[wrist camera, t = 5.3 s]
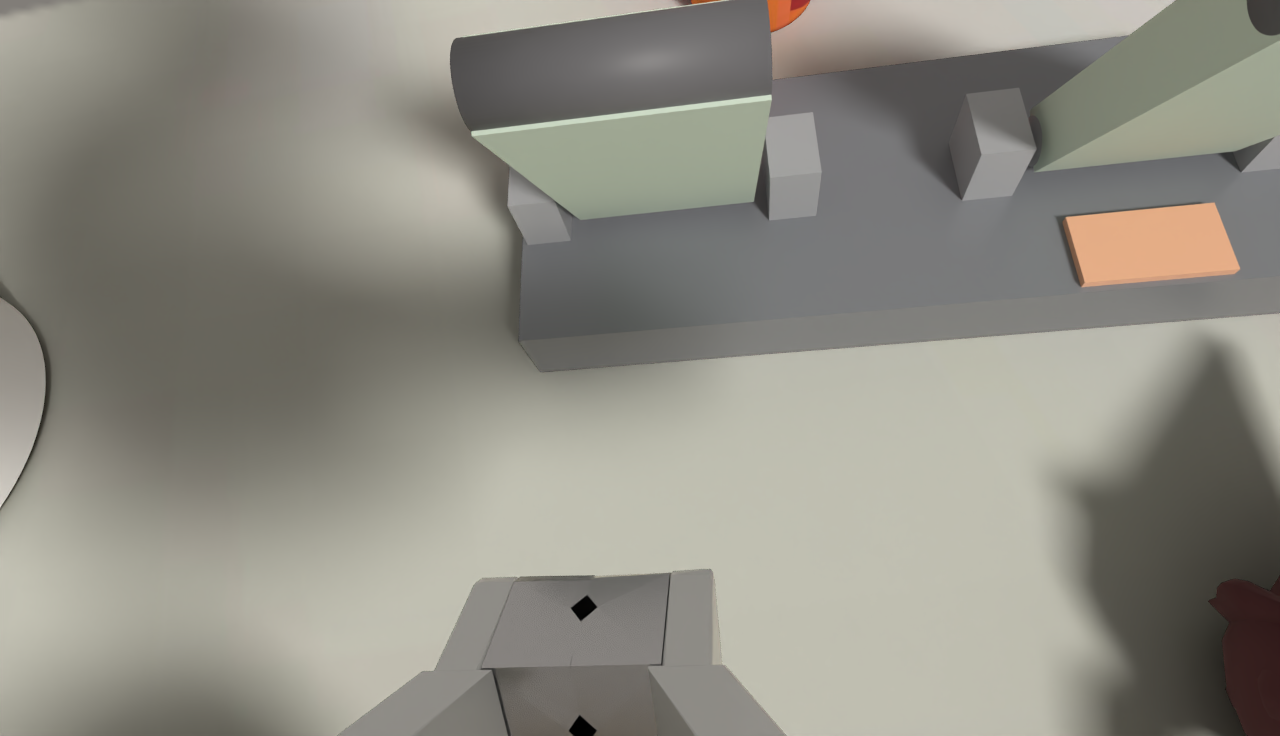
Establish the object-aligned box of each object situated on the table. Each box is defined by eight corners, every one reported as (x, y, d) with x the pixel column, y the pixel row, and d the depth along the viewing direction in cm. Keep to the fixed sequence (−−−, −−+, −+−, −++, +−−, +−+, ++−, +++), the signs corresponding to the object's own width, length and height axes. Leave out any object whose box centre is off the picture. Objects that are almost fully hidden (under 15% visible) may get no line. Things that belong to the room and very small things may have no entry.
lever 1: (584, 223, 27) (455, 123, 14) (579, 167, 27) (445, 17, 14) (753, 205, 26) (774, 84, 13) (748, 148, 26) (766, -29, 13)
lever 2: (1023, 177, 25) (1325, 16, 12) (1020, 117, 25) (1318, -108, 12) (1218, 157, 24) (1751, -37, 12) (1215, 94, 24) (1745, -168, 12)
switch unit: (540, 372, 28) (495, 309, 23) (546, 156, 32) (509, 64, 27) (1289, 312, 25) (1414, 225, 20) (1194, 80, 29) (1280, -39, 24)
